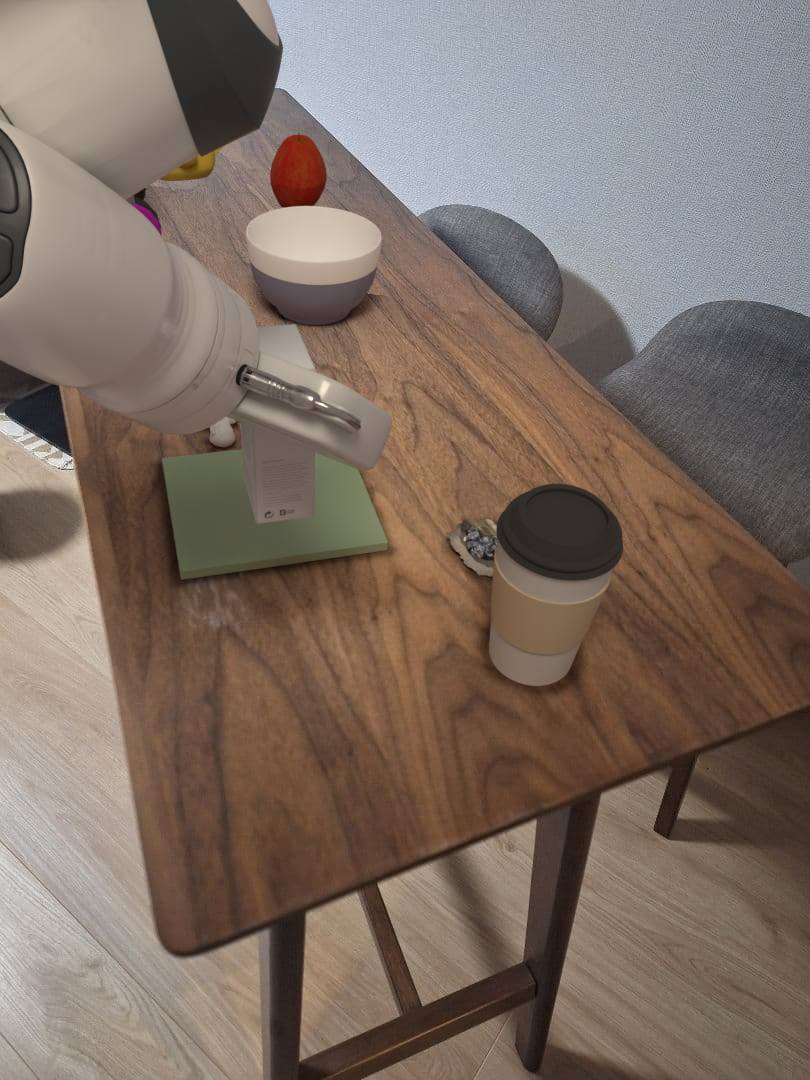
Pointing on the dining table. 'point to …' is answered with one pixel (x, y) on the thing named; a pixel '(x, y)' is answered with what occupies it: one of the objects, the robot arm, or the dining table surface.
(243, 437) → the cosmetic box
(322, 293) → the bowl
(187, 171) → the teapot
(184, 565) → the mat
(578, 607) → the coffee cup
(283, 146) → the apple
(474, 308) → the dining table surface
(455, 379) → the dining table surface
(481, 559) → the blueberries
